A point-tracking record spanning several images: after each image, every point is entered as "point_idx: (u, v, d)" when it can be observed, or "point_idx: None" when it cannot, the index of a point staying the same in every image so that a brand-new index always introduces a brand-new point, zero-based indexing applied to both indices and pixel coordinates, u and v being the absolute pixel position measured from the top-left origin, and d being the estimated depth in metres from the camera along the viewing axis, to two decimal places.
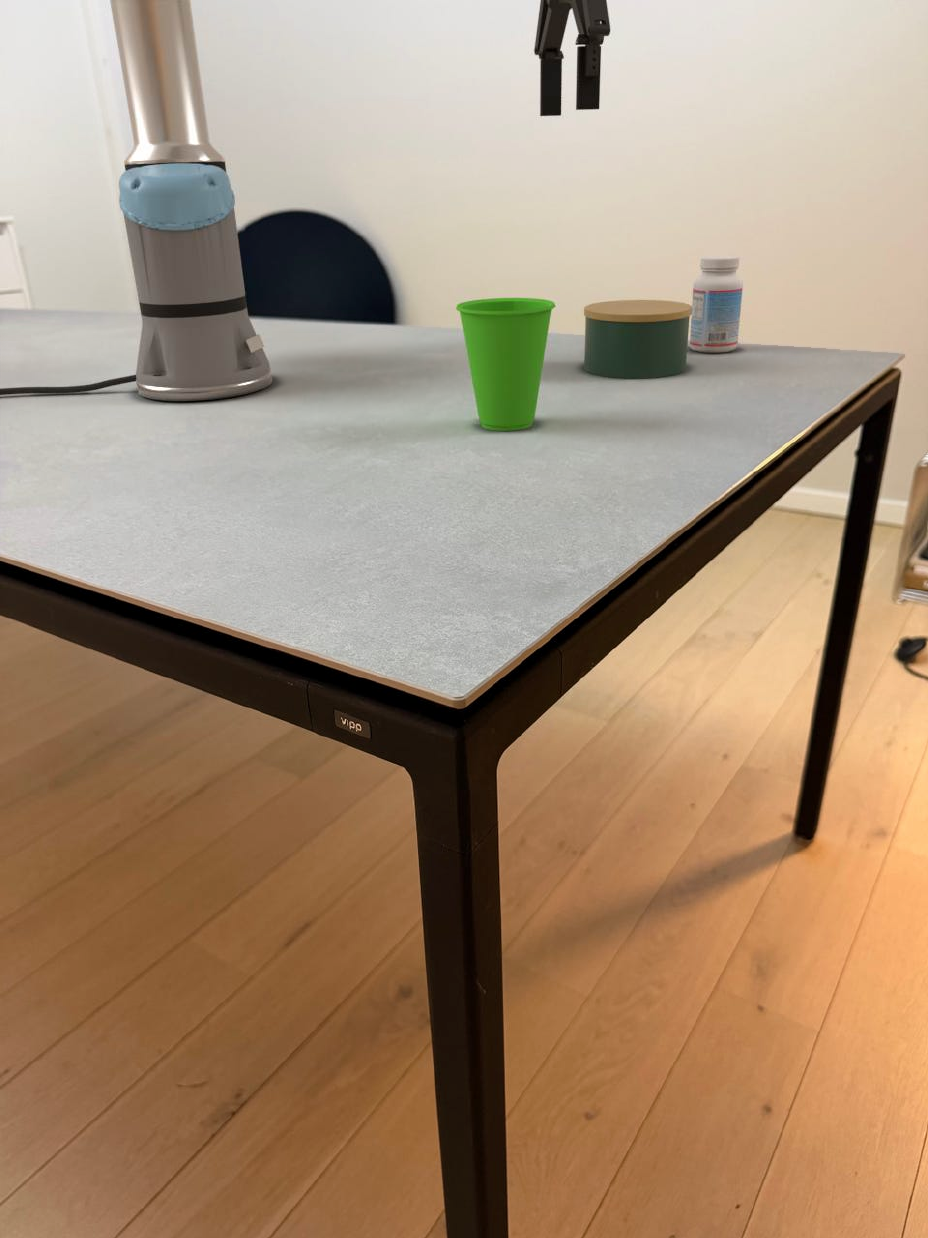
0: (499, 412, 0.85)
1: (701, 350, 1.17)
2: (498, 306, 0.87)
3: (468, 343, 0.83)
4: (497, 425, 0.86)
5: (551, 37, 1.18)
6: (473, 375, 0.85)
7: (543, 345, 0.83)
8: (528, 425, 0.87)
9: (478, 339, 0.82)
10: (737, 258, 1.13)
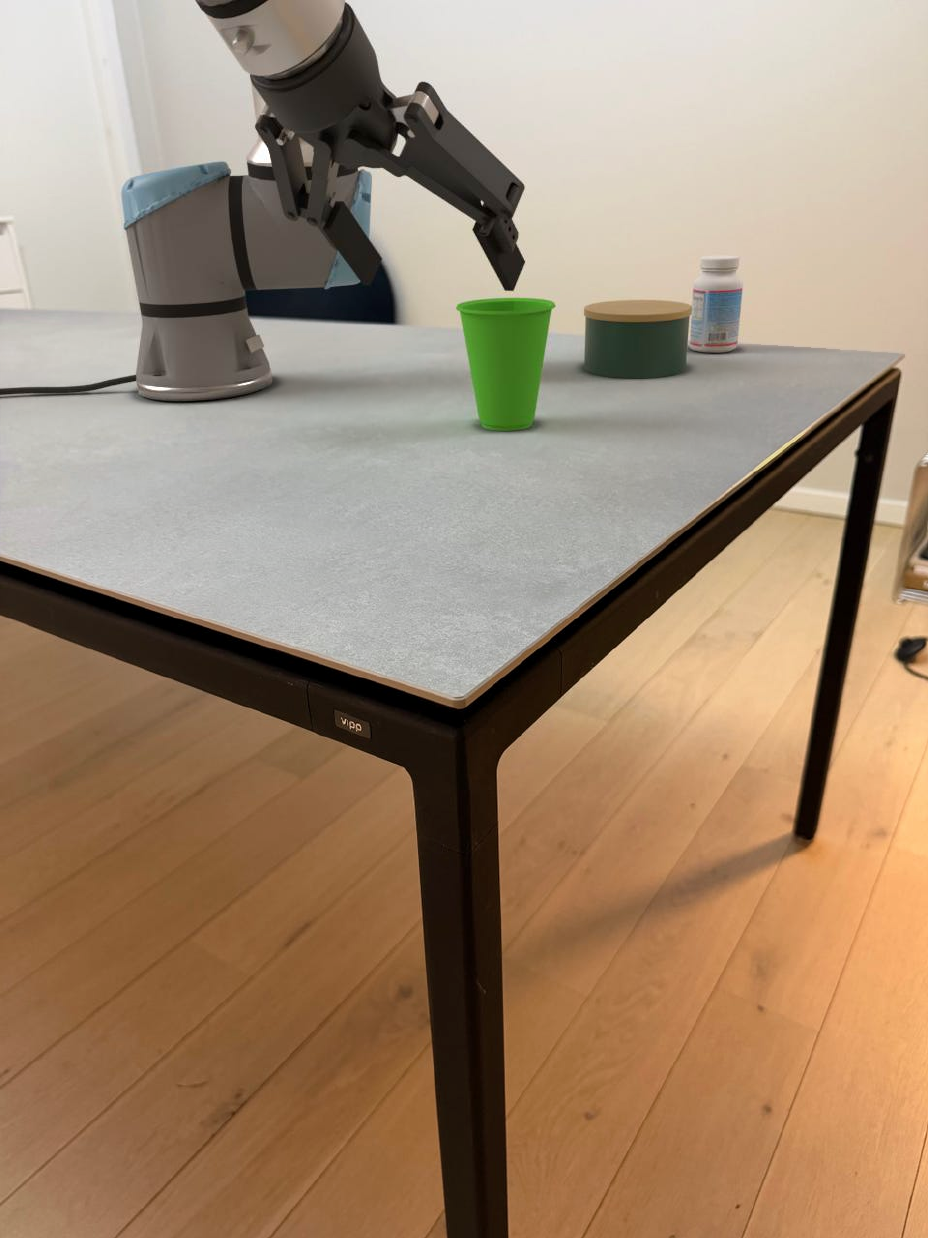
0: (499, 412, 0.85)
1: (701, 350, 1.17)
2: (498, 306, 0.87)
3: (468, 343, 0.83)
4: (497, 425, 0.86)
5: None
6: (473, 375, 0.85)
7: (543, 345, 0.83)
8: (528, 425, 0.87)
9: (478, 339, 0.82)
10: (737, 258, 1.13)
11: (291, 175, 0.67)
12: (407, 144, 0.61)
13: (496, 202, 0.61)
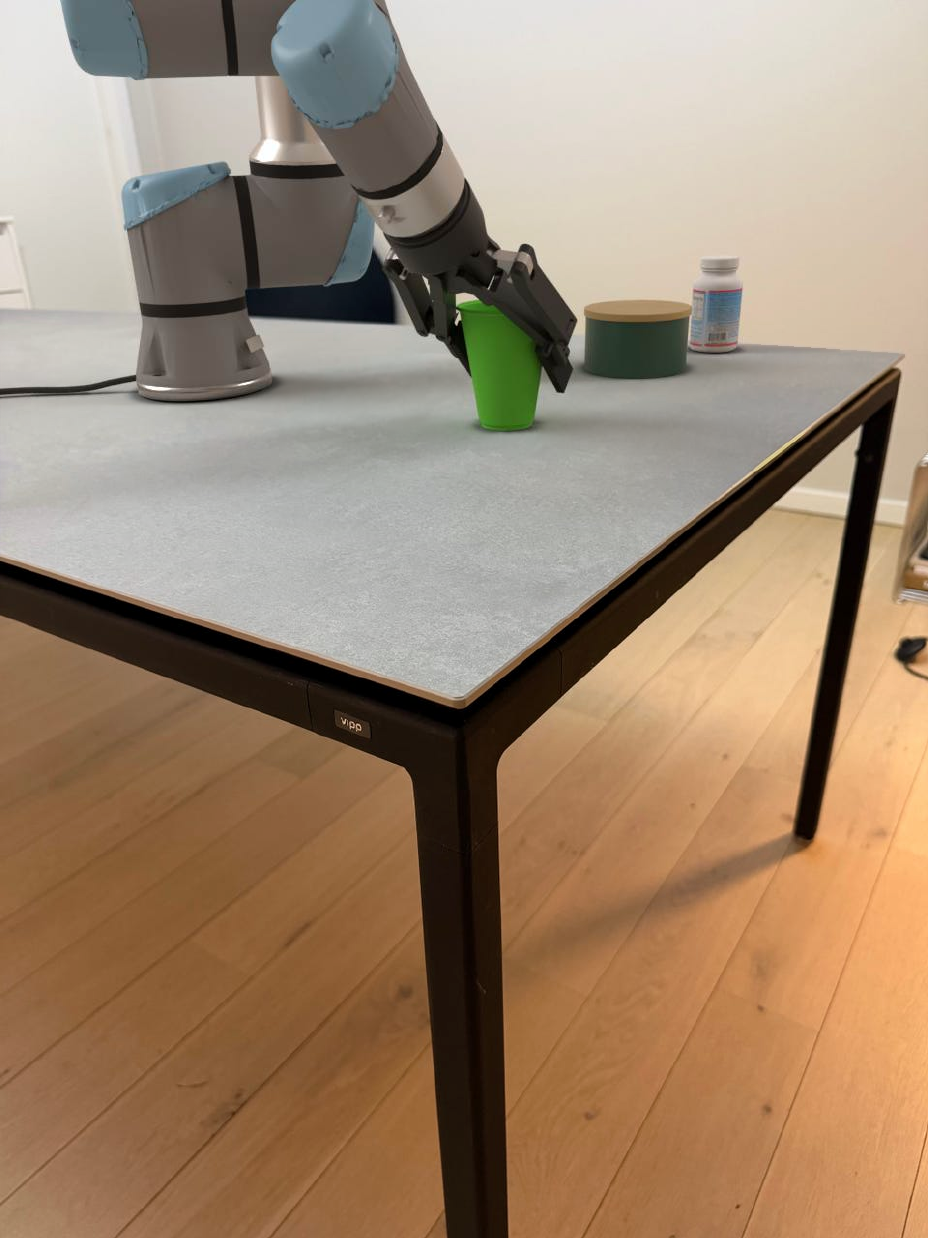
0: (499, 412, 0.85)
1: (701, 350, 1.17)
2: None
3: (468, 343, 0.83)
4: (497, 425, 0.86)
5: None
6: (473, 375, 0.85)
7: None
8: (528, 425, 0.87)
9: (478, 339, 0.82)
10: (737, 258, 1.13)
11: (417, 301, 0.82)
12: (499, 283, 0.76)
13: (559, 334, 0.78)
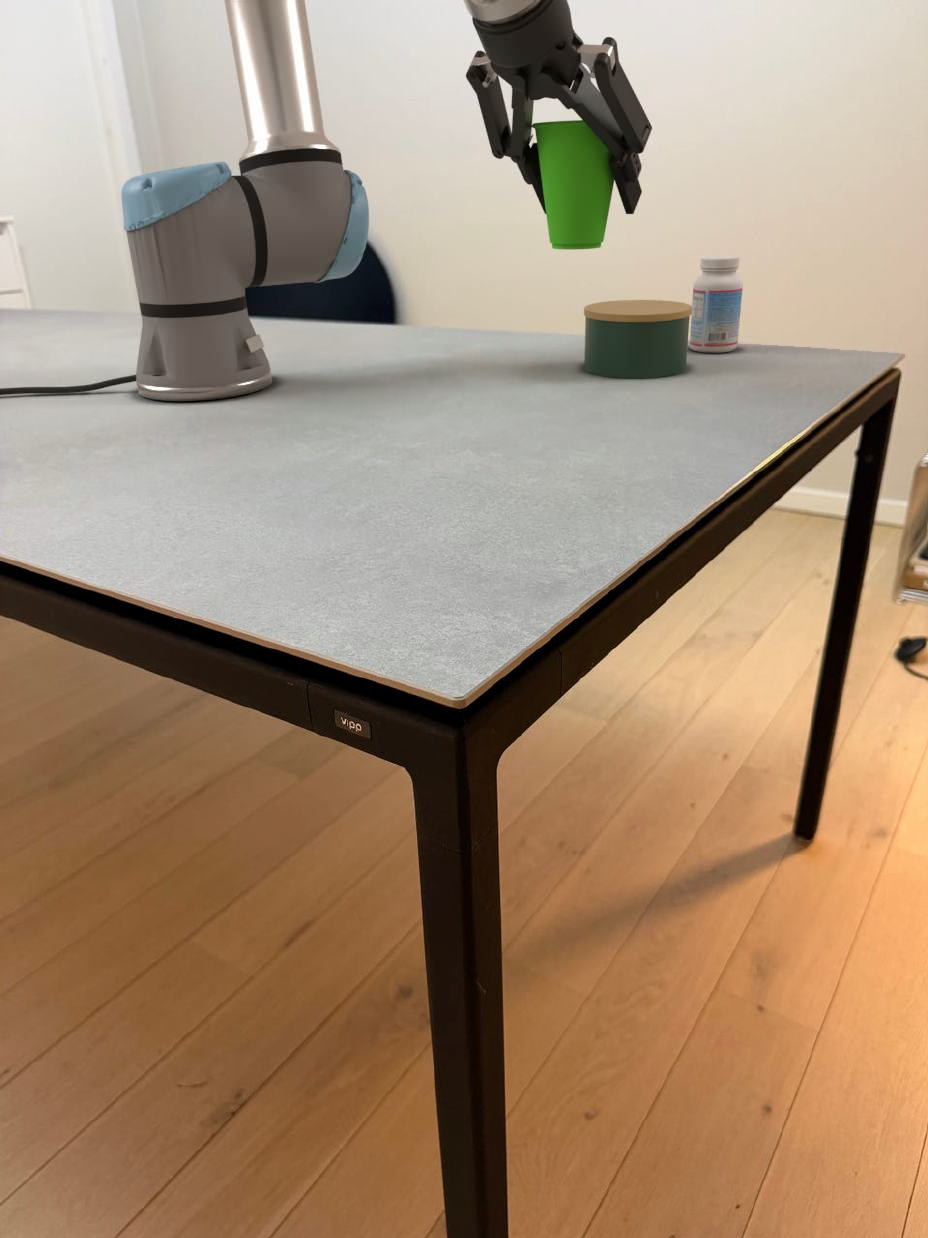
0: (571, 229, 0.88)
1: (701, 350, 1.17)
2: None
3: (543, 160, 0.87)
4: (569, 243, 0.89)
5: None
6: (546, 193, 0.88)
7: None
8: (598, 246, 0.90)
9: (554, 153, 0.85)
10: (737, 258, 1.13)
11: (496, 115, 0.85)
12: (580, 85, 0.79)
13: (635, 138, 0.81)
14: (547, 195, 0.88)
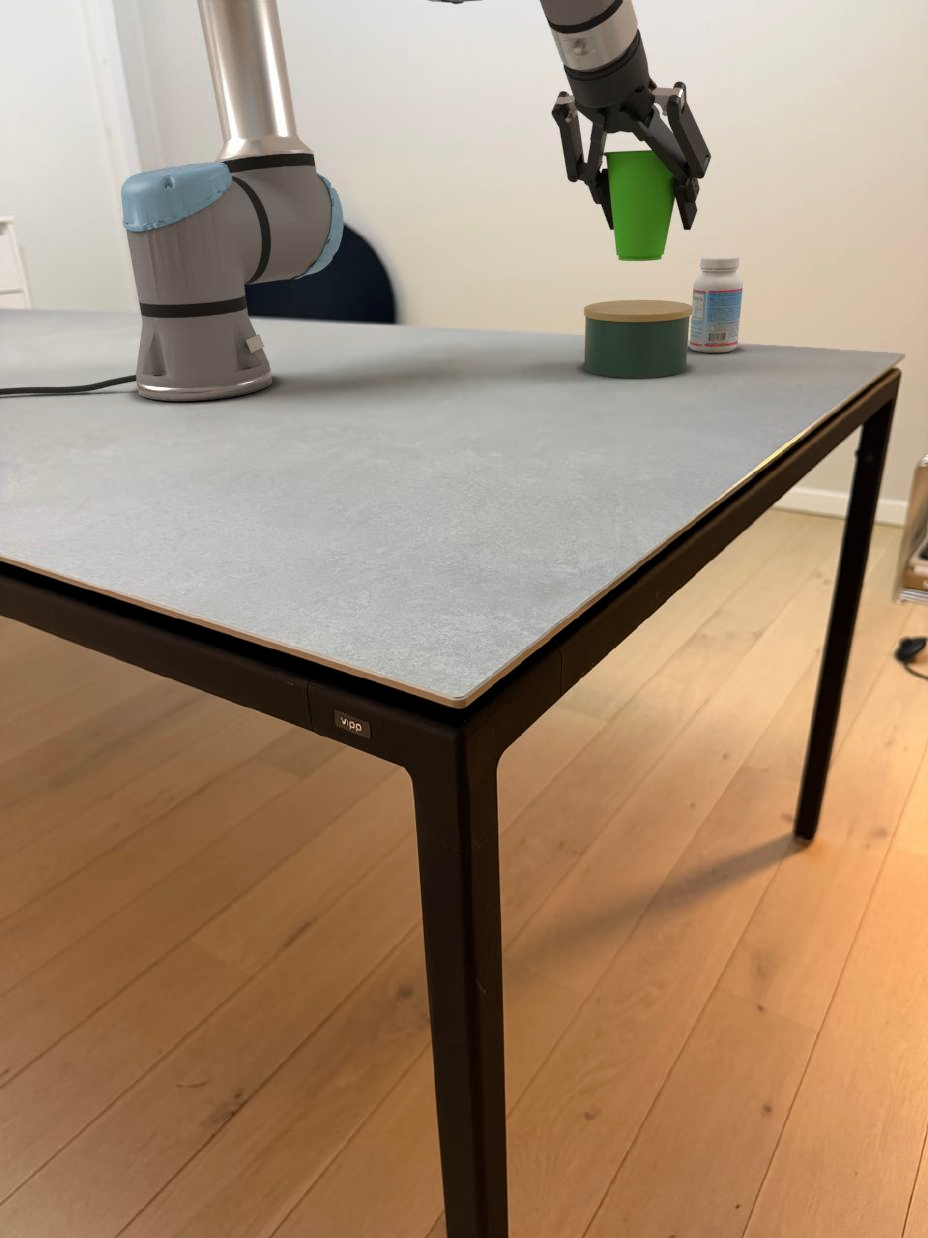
0: (638, 243, 1.01)
1: (701, 350, 1.17)
2: None
3: (614, 183, 1.00)
4: (635, 256, 1.02)
5: None
6: (616, 212, 1.02)
7: None
8: (659, 257, 1.03)
9: (624, 177, 0.99)
10: (737, 258, 1.13)
11: (574, 145, 0.98)
12: (651, 120, 0.92)
13: (697, 166, 0.94)
14: (616, 214, 1.02)
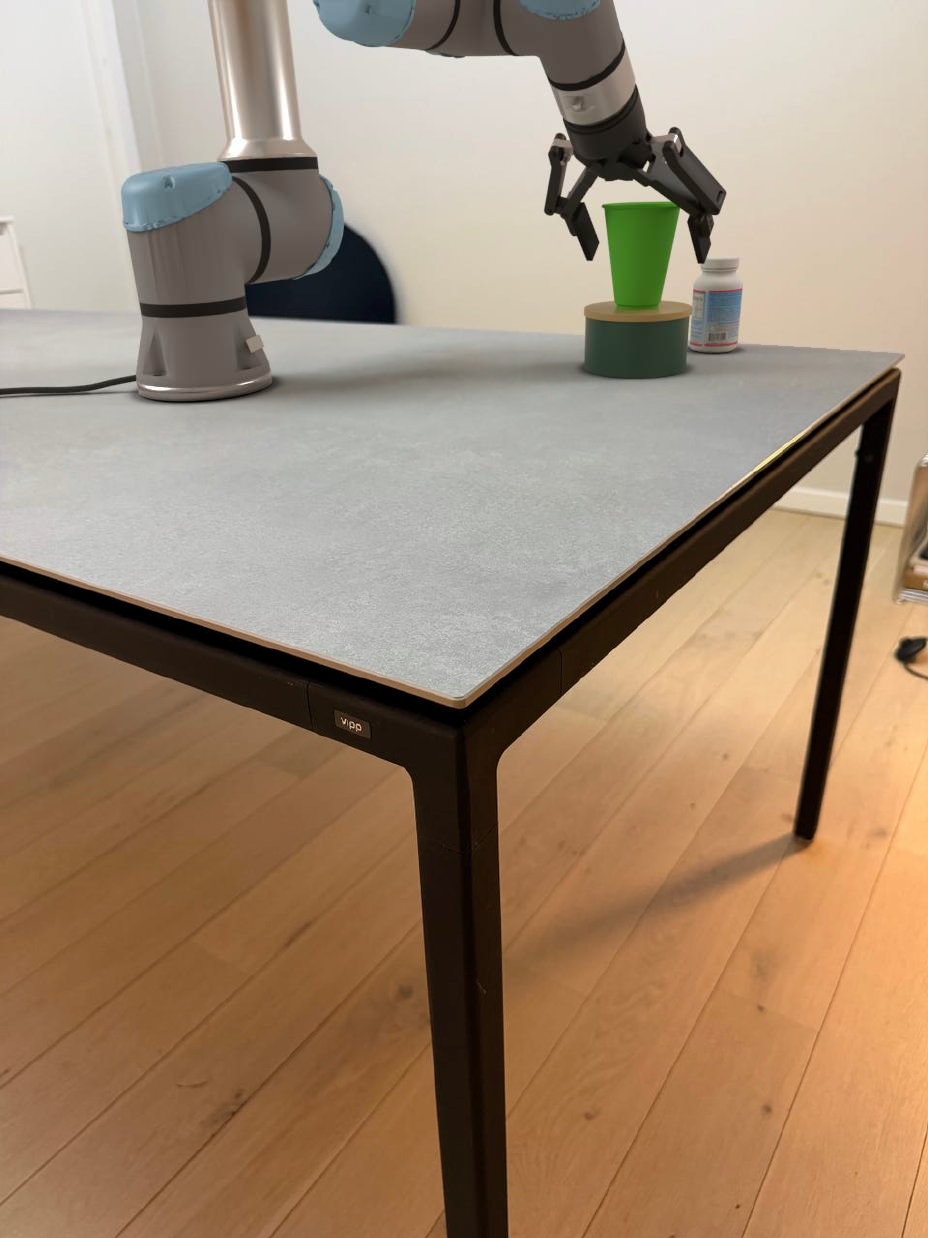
0: (635, 293, 1.04)
1: (701, 350, 1.17)
2: None
3: (612, 235, 1.02)
4: (632, 305, 1.05)
5: None
6: (614, 263, 1.04)
7: (673, 237, 1.02)
8: (656, 306, 1.06)
9: (622, 230, 1.01)
10: (737, 258, 1.13)
11: (560, 184, 1.00)
12: (653, 165, 0.94)
13: (710, 203, 0.94)
14: (614, 264, 1.04)
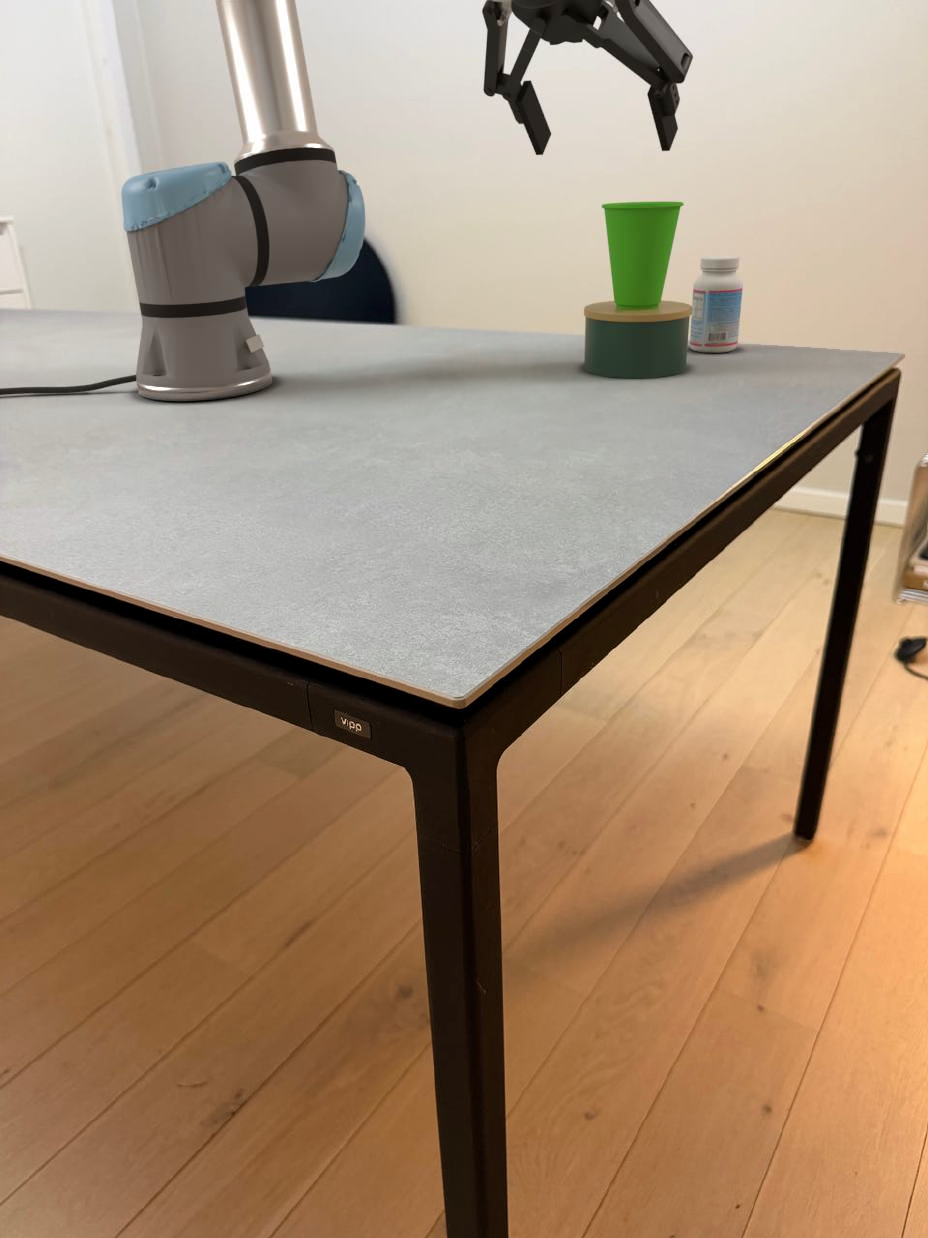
0: (635, 293, 1.04)
1: (701, 350, 1.17)
2: None
3: (612, 235, 1.02)
4: (632, 305, 1.05)
5: None
6: (614, 263, 1.04)
7: (673, 237, 1.02)
8: (656, 306, 1.06)
9: (622, 230, 1.01)
10: (737, 258, 1.13)
11: (499, 54, 0.85)
12: (605, 21, 0.79)
13: (673, 67, 0.79)
14: (614, 264, 1.04)
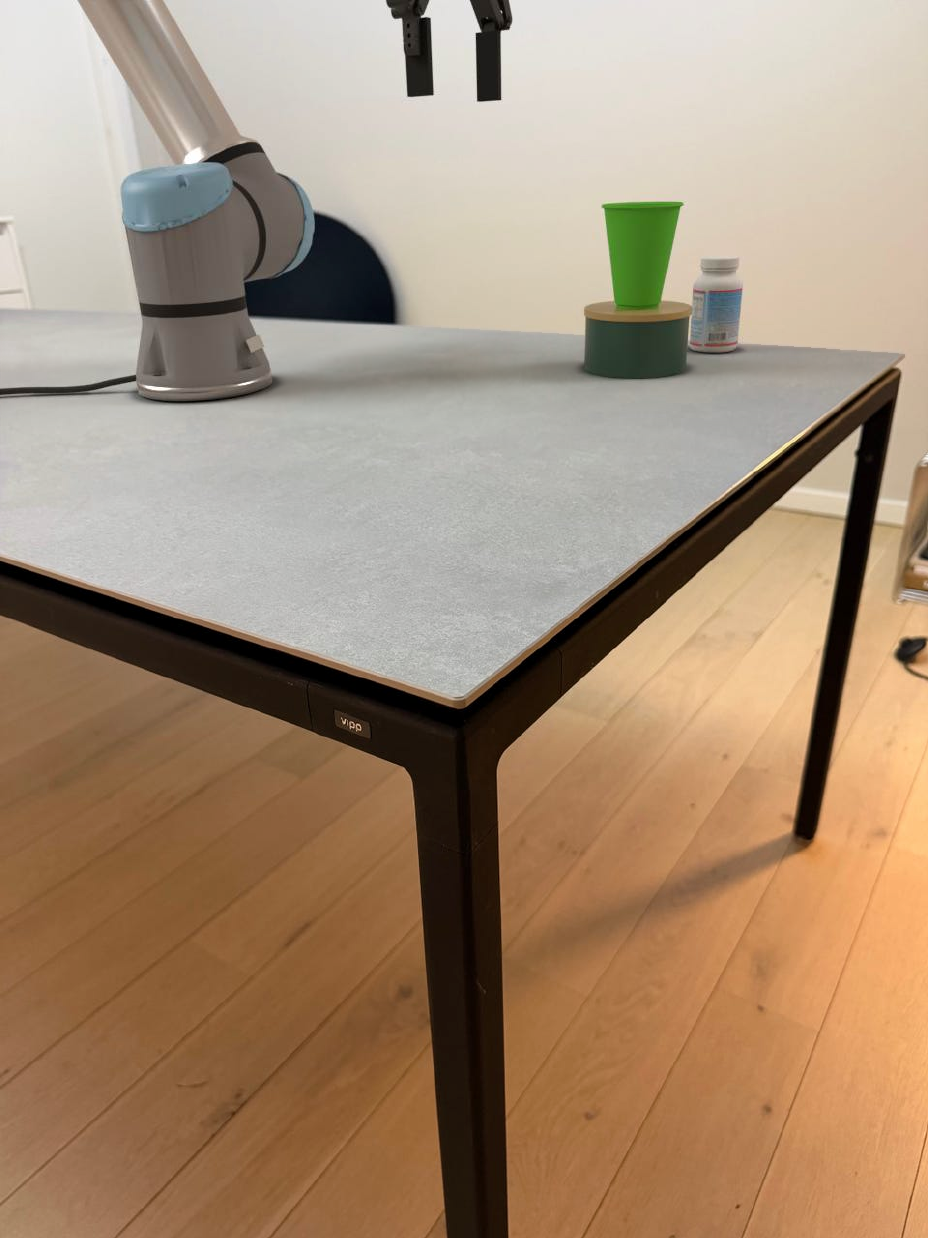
0: (635, 293, 1.04)
1: (701, 350, 1.17)
2: None
3: (612, 235, 1.02)
4: (632, 305, 1.05)
5: (478, 5, 0.97)
6: (614, 263, 1.04)
7: (673, 237, 1.02)
8: (656, 306, 1.06)
9: (622, 230, 1.01)
10: (737, 258, 1.13)
11: None
12: None
13: (508, 7, 0.99)
14: (614, 264, 1.04)
